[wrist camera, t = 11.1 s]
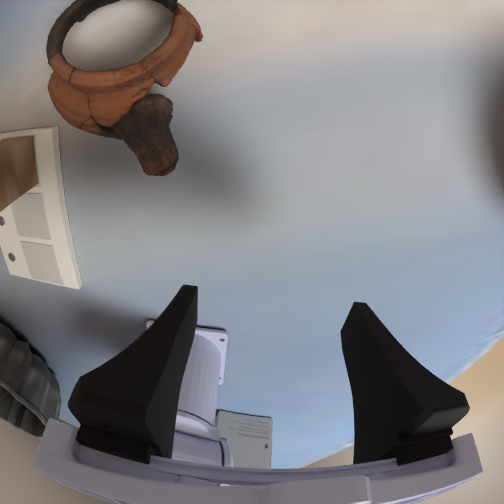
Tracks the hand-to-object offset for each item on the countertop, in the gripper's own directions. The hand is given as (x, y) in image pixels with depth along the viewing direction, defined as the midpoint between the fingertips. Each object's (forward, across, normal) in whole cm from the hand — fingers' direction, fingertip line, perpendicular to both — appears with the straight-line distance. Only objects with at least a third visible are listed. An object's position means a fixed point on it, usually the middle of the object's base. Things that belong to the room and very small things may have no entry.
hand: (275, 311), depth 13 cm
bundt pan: (+10, +38, +28) cm, 48 cm away
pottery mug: (+10, +9, -9) cm, 16 cm away
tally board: (+9, +22, +2) cm, 24 cm away
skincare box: (+10, -1, +33) cm, 34 cm away
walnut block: (+8, +20, -4) cm, 22 cm away
